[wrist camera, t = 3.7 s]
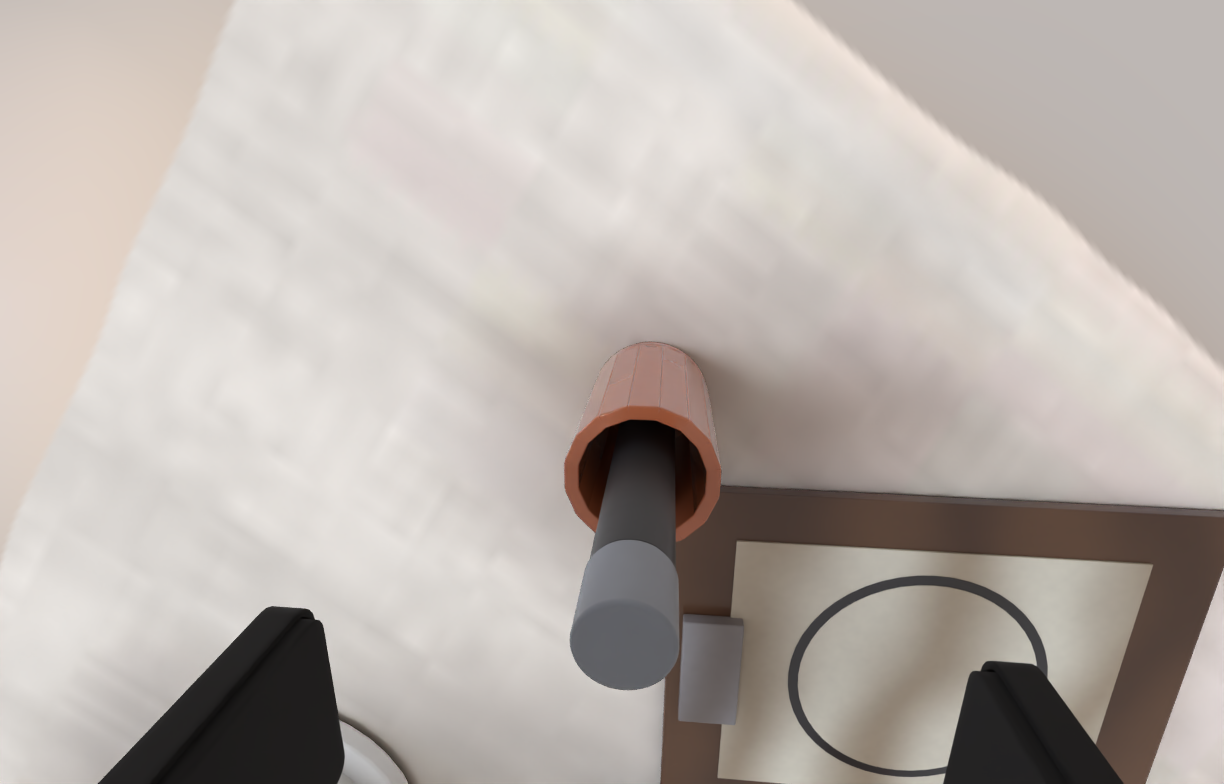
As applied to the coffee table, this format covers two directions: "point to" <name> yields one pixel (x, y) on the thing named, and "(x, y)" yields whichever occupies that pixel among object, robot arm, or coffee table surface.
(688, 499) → the pen pot
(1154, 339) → the coffee table surface
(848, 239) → the coffee table surface
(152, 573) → the coffee table surface
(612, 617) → the marker
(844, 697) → the clipboard
